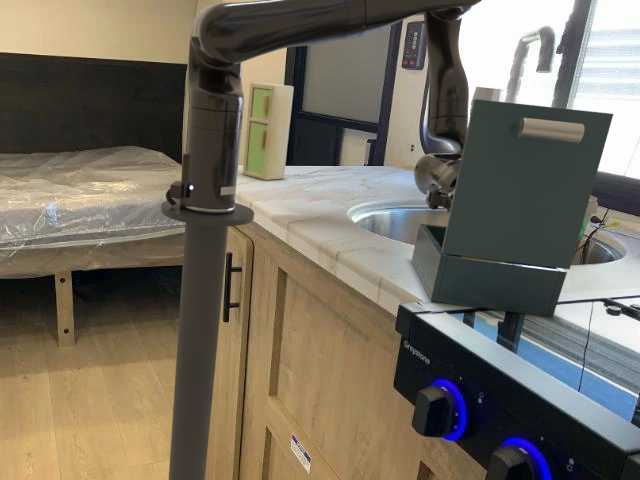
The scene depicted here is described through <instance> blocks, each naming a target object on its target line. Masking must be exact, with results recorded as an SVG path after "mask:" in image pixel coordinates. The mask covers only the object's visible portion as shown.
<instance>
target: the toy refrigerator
mask: <svg viewBox="0 0 640 480" xmlns="http://www.w3.org/2000/svg"><path fill="white" fill-rule="evenodd" d="M294 88H295V87H294V86H293V85H285V84H277V83H266V82H265V83H264V82H250V83H249V95H248V96H249V97H248V107H247V118H246V131H245V141H244V142H245V143H244V153H243V165H242V166H243V167H242V175H245V176H249V177H253V178H256V179H258V180H259V179H260V180H264V181H269V180H270V181H271V180H282V179H284V178H285V172H286V164H287V163H286V162H287V153H288V143H289V136H290V135H289V134H290V126H291V118H292V117H291V116H292V110H293V109H292V108H293V100H294V99H293V98H294V90H295V89H294Z"/></svg>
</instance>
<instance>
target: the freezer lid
mask: <svg viewBox="0 0 640 480" xmlns="http://www.w3.org/2000/svg"><path fill="white" fill-rule="evenodd" d="M471 107H472V110H471V111H470V112H471V115H470V119H469V124H468V129H467V133H466V138H465V143H464V147H463V152H462V157H461V162H460V166H459V171H458V176H457V180H456V185H455V190H454V194H453V199H452V204H451V208H450V212H448V213H449V214H448V219H447V222H446V226H445V227H446V232H445V237H444V241H443V246H442V251H441V252H442V253H445V254H452V255H460V256H468V257H476V258H484V259H492V260H499V261H507V262H515V263H523V264H531V265H538V266H546V267H554V268H562V269H563V270H571V266H572V262H573V259H574V257H575V255H574V252H575V249H576V245H577V242H578V238H579V235H580V231H581V228H582V224H583V220H584V217H585V213H586V210H587V206H588V203H589V199H590V196H592V192H593V188H594V186H595V185H594V184H595V181H596V178H597V174H598V170H599V167H600V164H601V160H602V156H603V153H604V149H605V146H606V142H607V138H608V136H609V132H610V128H611V124H612V121H613V117H614V113H609V112H599V111H591V110H590V111H589V110H581V109H572V108H562V107H555V106H554V107H552V106H544V105H534V104H526V103H515V102H508V101H507V102H506V101H504V102H498V101H489V100H479V99H474V101H473V105H472V106H471ZM573 256H574V257H573Z"/></svg>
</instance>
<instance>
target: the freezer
mask: <svg viewBox="0 0 640 480" xmlns="http://www.w3.org/2000/svg"><path fill="white" fill-rule="evenodd" d="M446 227H447V226H443V225H436V224H427V223H419V225H418V230H417V234H416V238H415V244H414V248H413V253H412V257H411V264H412V265H413V267H414V269H415V271H416V274H417V276H418V278H419V280H420V282H421V284H422V286H423V289H424V291H425V292H426V294H427V296H428V299H429V301H430V302H433V303H434V302H435V303H442V304H449V305H455V306H456V305H458V306H464V307H472V308H478V309H479V308H480V309H488V310H495V311H502V312H508V313H509V312H510V313H517V314H525V315H533V316H539V317H548V318H554V315H555V312H556V309H557V305H558V301H559V299H560V296H561V293H562V289H563V286H564V283H565V281H566V277H567V275H568V272H567V271H566V269H562V268H554V267H546V266H538V265H531V264H523V263H515V262H507V261H505V262H504V263H503V262H495V261H487V260H479V259H472V258H464V257H461V256H460V255H452V254H445V253H442V252H441V251H442V246H443V241H444V237H445V232H446Z"/></svg>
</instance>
